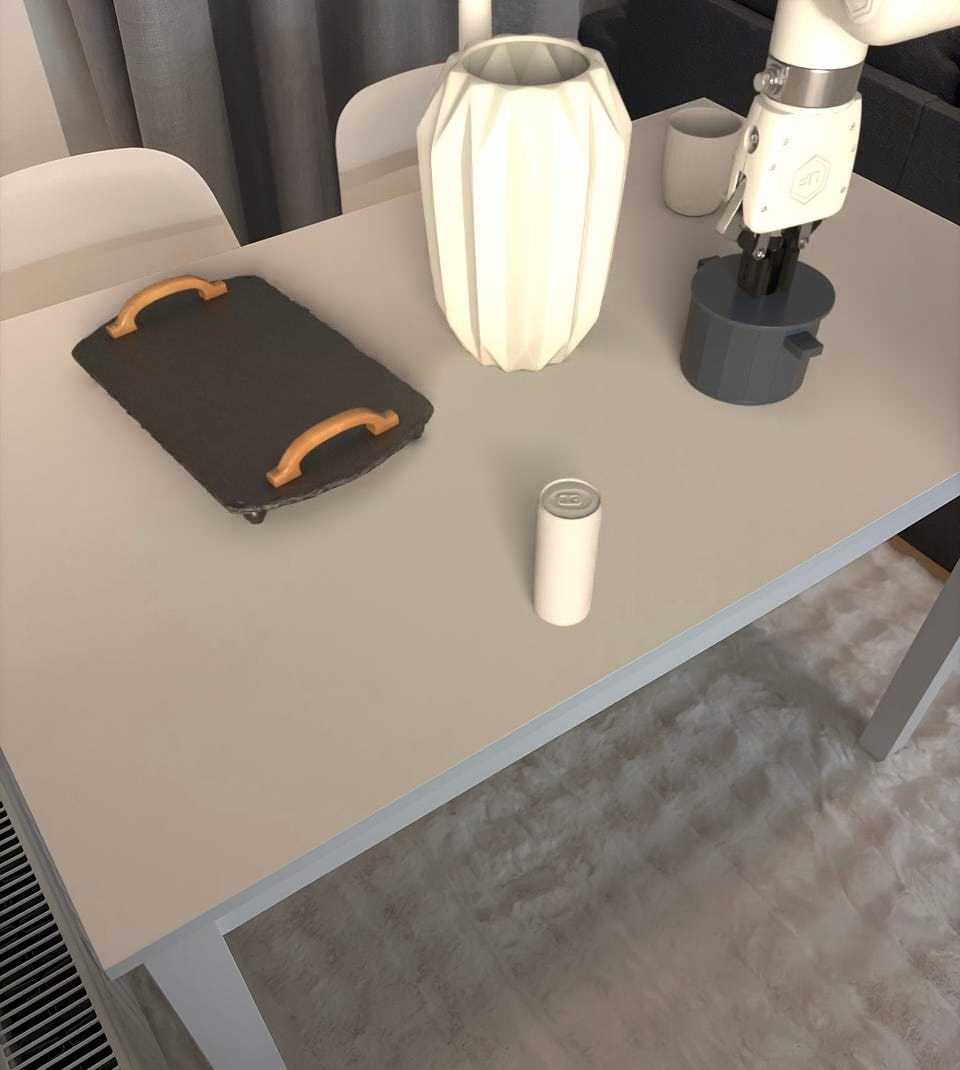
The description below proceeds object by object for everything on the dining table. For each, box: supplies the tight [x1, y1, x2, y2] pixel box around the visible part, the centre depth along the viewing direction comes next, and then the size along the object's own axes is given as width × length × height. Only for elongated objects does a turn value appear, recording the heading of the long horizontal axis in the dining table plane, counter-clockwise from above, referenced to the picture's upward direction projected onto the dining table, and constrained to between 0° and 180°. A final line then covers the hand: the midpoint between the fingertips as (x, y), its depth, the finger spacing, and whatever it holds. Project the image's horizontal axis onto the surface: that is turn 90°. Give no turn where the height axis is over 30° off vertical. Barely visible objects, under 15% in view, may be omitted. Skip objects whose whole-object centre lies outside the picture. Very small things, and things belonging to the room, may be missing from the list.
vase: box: [416, 32, 633, 374], centre depth 91 cm, size 20×20×27 cm
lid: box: [690, 235, 837, 332], centre depth 90 cm, size 14×14×6 cm
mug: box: [661, 106, 744, 217], centre depth 116 cm, size 13×9×10 cm
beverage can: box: [531, 477, 604, 627], centre depth 73 cm, size 5×5×12 cm
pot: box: [679, 254, 825, 406], centre depth 95 cm, size 13×18×8 cm
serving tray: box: [71, 273, 435, 525], centre depth 94 cm, size 39×23×6 cm, turn 41°
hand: (763, 286), depth 91 cm, fingers closed on lid, 2 cm apart
